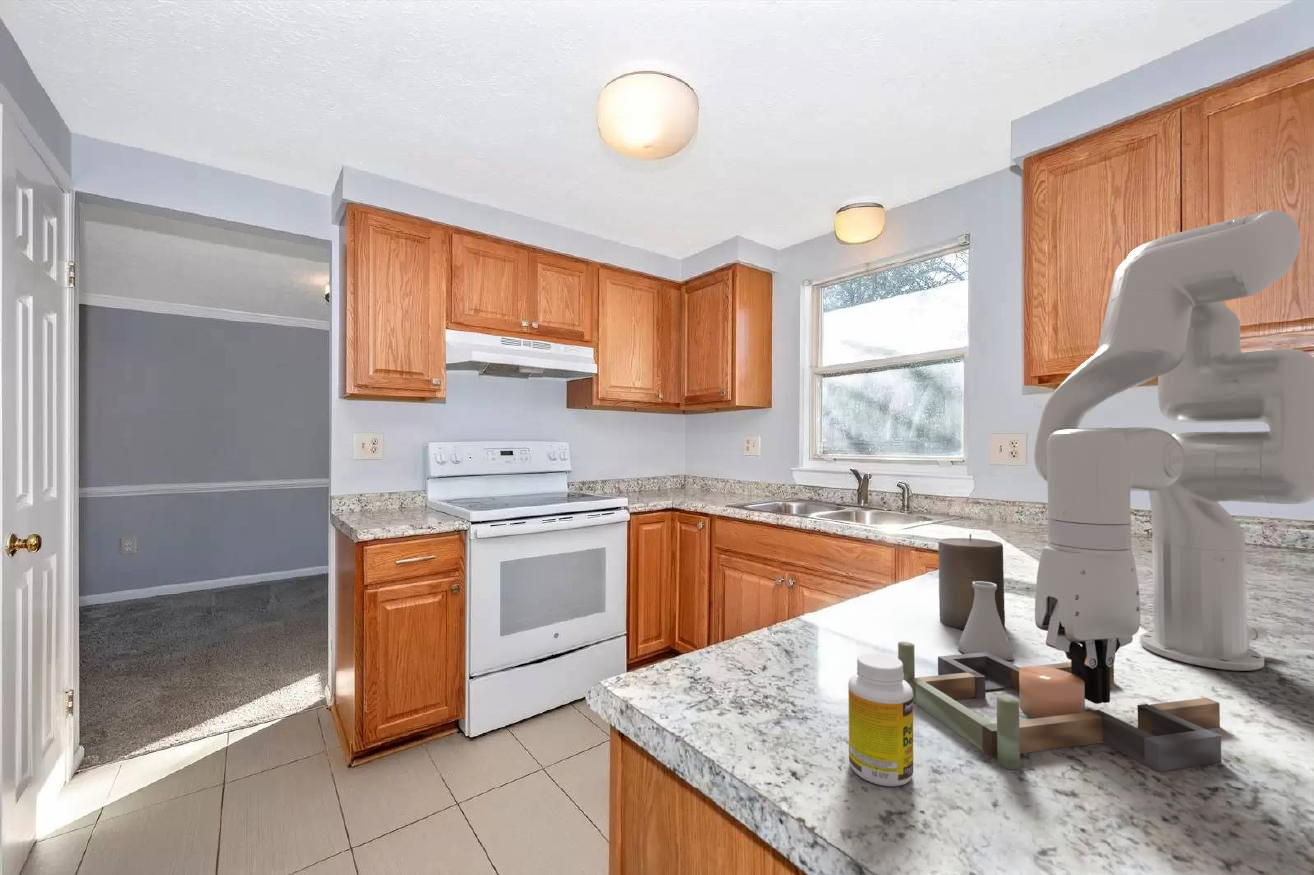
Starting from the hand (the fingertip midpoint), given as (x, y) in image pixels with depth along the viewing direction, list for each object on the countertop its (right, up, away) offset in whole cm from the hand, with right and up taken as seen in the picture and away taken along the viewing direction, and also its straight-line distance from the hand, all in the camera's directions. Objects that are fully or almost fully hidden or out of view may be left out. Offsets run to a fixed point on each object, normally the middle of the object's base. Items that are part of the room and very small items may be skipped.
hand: (1090, 697), depth 63 cm
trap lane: (-5, -1, -1) cm, 5 cm away
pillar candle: (+3, -2, +30) cm, 31 cm away
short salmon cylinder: (-5, -1, -1) cm, 5 cm away
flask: (-2, -2, +17) cm, 17 cm away
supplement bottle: (-29, -1, -12) cm, 31 cm away
